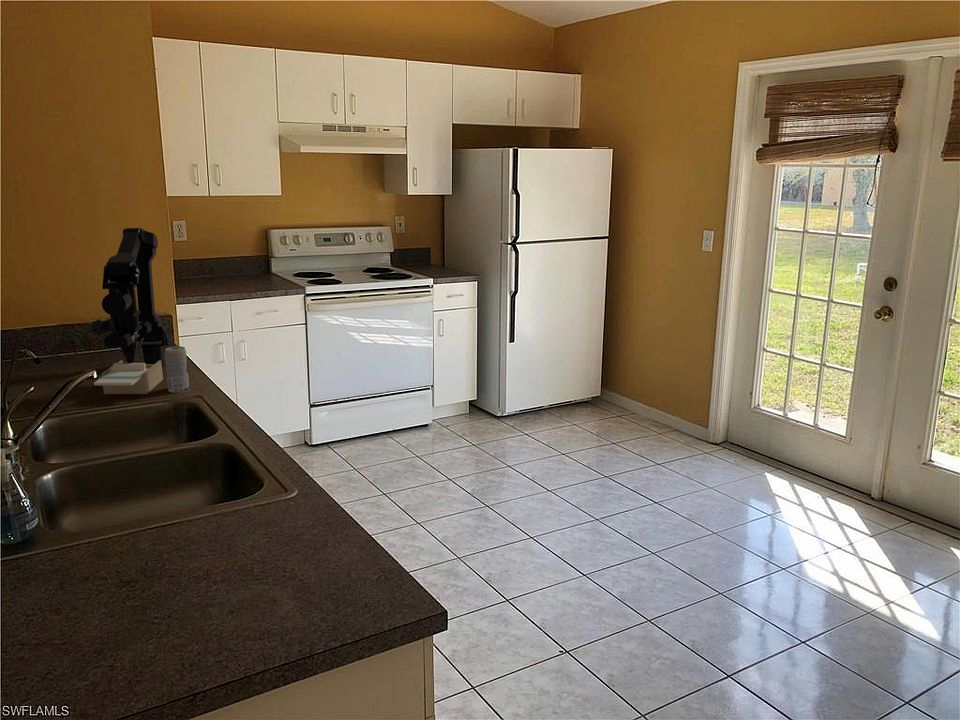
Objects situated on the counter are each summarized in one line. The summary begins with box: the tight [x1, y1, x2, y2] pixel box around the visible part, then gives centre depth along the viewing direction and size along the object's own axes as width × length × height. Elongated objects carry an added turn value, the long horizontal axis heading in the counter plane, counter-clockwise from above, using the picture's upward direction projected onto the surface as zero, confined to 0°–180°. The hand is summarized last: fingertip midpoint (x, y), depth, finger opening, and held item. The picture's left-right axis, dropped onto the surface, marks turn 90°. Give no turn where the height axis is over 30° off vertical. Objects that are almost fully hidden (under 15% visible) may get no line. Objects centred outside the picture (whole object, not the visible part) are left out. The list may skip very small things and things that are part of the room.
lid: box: [93, 362, 148, 386], centre depth 203 cm, size 13×9×2 cm
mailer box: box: [101, 359, 164, 395], centre depth 210 cm, size 13×11×6 cm
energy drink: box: [164, 346, 190, 394], centre depth 208 cm, size 5×5×12 cm
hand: (131, 364), depth 209 cm, fingers closed
